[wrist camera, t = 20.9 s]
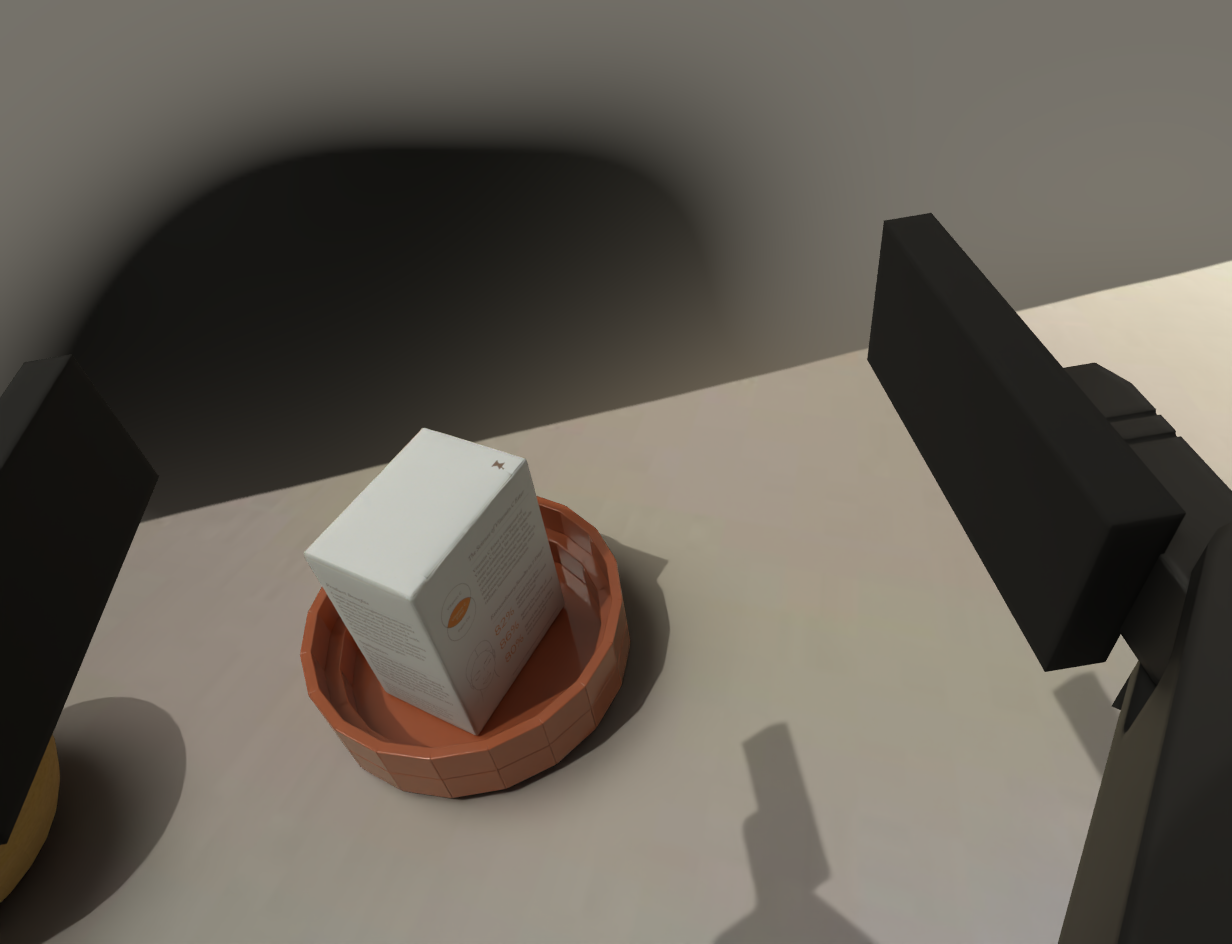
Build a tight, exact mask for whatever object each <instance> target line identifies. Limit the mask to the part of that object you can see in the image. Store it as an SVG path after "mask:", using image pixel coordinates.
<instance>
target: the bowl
mask: <svg viewBox="0 0 1232 944" xmlns="http://www.w3.org/2000/svg"><path fill="white" fill-rule="evenodd" d="M536 497H537V501H538V504H539V508H540V512H541V516H542V519H543V523H544V527H545V530H546V534H547V538H548V542H549V546H550V549H551V553H552V557H553V560H554V564H555V568H556V572H557V576H558V580H559V583H560V587H561V591H562V594H563V598H564V602H565V605H564V607H563V608H562V610H561V611H560V613H559V614H558V616H557V617H556V619H555V620H554V622H553V623H552V625H551V626H550V628H549V629H548V631H547V632H546V634H545V635H544V637H543V638H542V640H541V641H540V643H539V644H538V646H537V647H536V649H535V651H534V652H533V654H532V655H531V657H530V658H529V660H528V661H527V663H526V664H525V665H524V667H523V668H522V670H521V671H520V673H519V674H518V676H517V677H516V679H515V680H514V682H513V684H512V685H511V687H510V688H509V690H508V691H507V693H506V694H505V696H504V697H503V699H502V700H501V702H500V703H499V705H498V706H497V708H496V709H495V711H494V712H493V714H492V715H491V717H490V718H489V720H488V721H487V723H486V724H485V726H484V727H483V729H482V731H481V732H480V734H479V735H477V736H476V735H473V734H471V733H469V732H467V731H465V730H463V729H461V728H458V727H456V726H454V725H452V724H450V723H448V722H446V721H444V720H442V719H440V718H438V717H435V716H433V715H431V714H429V713H427V712H425V711H423V710H421V709H419V708H417V707H415V706H413V705H411V704H409V703H407V702H405V701H403V700H401V699H399V698H397V697H395V696H393V695H390V694H388V693H387V692H386V691H385V690H384V688H383V687H382V685H381V683H380V682H379V680H378V679H377V677H376V675H375V674H374V672H373V670H372V669H371V667H370V665H369V664H368V662H367V660H366V659H365V657H364V655H363V654H362V652H361V650H360V649H359V647H358V645H357V644H356V642H355V640H354V639H353V637H352V635H351V634H350V632H349V631H348V629H347V627H346V626H345V624H344V622H343V621H342V619H341V617H340V615H339V614H338V612H337V610H336V608H335V607H334V605H333V603H332V602H331V600H330V599H329V597H328V595H327V594H326V592H325V590H324V589H323V587H321V589H320V591H319V593H318V595H317V597H316V598H315V600H314V602H313V604H312V606H311V608H310V609H309V611H308V614H307V619H306V625H305V630H304V636H303V641H302V647H301V652H300V657H301V662H302V667H303V671H304V676H305V681H306V686H307V690H308V695H309V697H310V698H311V700H312V701H313V703H314V704H315V705H316V707H317V708H318V710H319V711H320V712H321V714H322V715H323V716H324V718H325V719H326V721H327V722H328V724H329V725H330V726H331V728H332V729H333V731H334V732H335V733H336V735H337V736H338V737H339V739H340V740H341V741H342V743H343V744H344V745H345V747H346V748H347V749H348V751H349V752H350V753H351V755H352V756H353V757H354V759H355V760H356V761H357V763H358V764H359V765H360V767H362V768H363V769H364V770H366V771H368V772H370V773H371V774H373V775H375V776H377V777H378V778H380V779H382V780H384V781H386V782H387V783H389V784H391V785H393V786H394V787H396V788H398V789H400V790H402V791H406V792H413V793H420V794H427V795H433V796H440V797H447V798H452V797H453V798H455V797H461V796H467V795H473V794H479V793H485V792H490V791H496V790H502V789H506V788H509V787H511V786H513V785H515V784H517V783H519V782H521V781H523V780H526V779H528V778H530V777H532V776H534V775H536V774H538V773H540V772H542V771H544V770H546V769H548V768H550V767H552V766H554V765H556V763H558V762H560V761H561V760H562V759H563V758H564V757H565V756H566V755H567V754H568V753H569V752H571V751H572V750H573V749H574V748H575V747H576V746H577V745H578V744H579V743H580V742H582V741H583V740H584V739H585V738H586V737H587V736H588V735H589V734H590V733H591V732H593V731H594V730H595V729H596V727H597V726H598V724H599V723H600V721H601V719H602V718H603V716H604V714H605V713H606V711H607V709H608V708H609V706H610V704H611V702H612V701H613V699H614V697H615V696H616V694H617V692H618V691H619V689H620V687H621V685H622V681H623V676H624V672H625V667H626V662H627V657H628V653H629V648H630V637H629V630H628V624H627V618H626V612H625V606H624V600H623V594H622V589H621V583H620V577H619V572H618V566H617V561H616V559H615V557H614V556H613V554H612V553H611V551H610V549H609V548H608V546H607V545H606V543H605V541H604V540H603V538H602V537H601V535H600V533H599V532H598V530H597V529H596V528H595V527H593V526H592V525H591V524H589V523H588V522H587V521H585V520H584V519H583V518H581V517H580V516H579V515H577V514H576V513H575V512H573V511H572V510H571V509H569V508H568V507H567V506H565V505H562V504H559V503H556V502H553V501H550V500H547V499H544V498H541V497H538V496H536Z"/></svg>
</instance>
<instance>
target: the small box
mask: <svg viewBox="0 0 1232 944" xmlns="http://www.w3.org/2000/svg"><path fill="white" fill-rule="evenodd" d="M304 557H305V559H306V561H307V562H308V564H309V566H310V567H311V569H312V571H313V572H314V574H315V575H316V577H317V579H318V581H319V582H320V584H321V585H322V587H323V589H324V590H325V592H326V594H327V595H328V597H329V599H330V600H331V602H332V603H333V605H334V607H335V608H336V610H337V612H338V614H339V615H340V617H341V619H342V621H343V622H344V624H345V626H346V627H347V629H348V631H349V632H350V634H351V635H352V637H353V639H354V640H355V642H356V644H357V645H358V647H359V649H360V650H361V652H362V654H363V655H364V657H365V659H366V660H367V662H368V664H369V665H370V667H371V669H372V670H373V672H374V674H375V675H376V677H377V679H378V680H379V682H380V683H381V685H382V687H383V688H384V690H385V691H386V692H387V693H388V694H390V695H393V696H395V697H397V698H399V699H401V700H403V701H405V702H407V703H409V704H411V705H413V706H415V707H417V708H419V709H421V710H423V711H425V712H427V713H429V714H431V715H433V716H435V717H438V718H440V719H442V720H444V721H446V722H448V723H450V724H452V725H454V726H456V727H458V728H461V729H463V730H465V731H467V732H469V733H471V734H473V735H476V736H477V735H479V734H480V732H481V731H482V729H483V727H484V726H485V724H486V723H487V721H488V720H489V718H490V717H491V715H492V714H493V712H494V711H495V709H496V708H497V706H498V705H499V703H500V702H501V700H502V699H503V697H504V696H505V694H506V693H507V691H508V690H509V688H510V687H511V685H512V684H513V682H514V680H515V679H516V677H517V676H518V674H519V673H520V671H521V670H522V668H523V667H524V665H525V664H526V663H527V661H528V660H529V658H530V657H531V655H532V654H533V652H534V651H535V649H536V647H537V646H538V644H539V643H540V641H541V640H542V638H543V637H544V635H545V634H546V632H547V631H548V629H549V628H550V626H551V625H552V623H553V622H554V620H555V619H556V617H557V616H558V614H559V613H560V611H561V610H562V608H563V607H564V605H565V602H564V598H563V594H562V591H561V587H560V583H559V580H558V576H557V572H556V568H555V564H554V560H553V557H552V553H551V549H550V546H549V542H548V538H547V534H546V530H545V527H544V523H543V519H542V516H541V512H540V508H539V504H538V501H537V497H536V493H535V489H534V485H533V482H532V478H531V474H530V471H529V467H528V463H527V460H526V459H525V458H521V457H518V456H515V455H512V454H509V453H506V452H503V451H499V450H496V449H493V448H490V447H486V446H483V445H480V444H476V443H473V442H470V441H466V440H463V439H460V438H457V437H453V436H450V435H447V434H444V433H440V432H436V431H433V430H429V429H426V428H422V429H421V430H420V431H419V432H418V434H417V435H416V436H415V437H414V438H413V439H412V440H411V441H410V442H409V443H408V444H407V445H406V446H405V447H404V448H403V449H402V450H401V451H400V453H398V454H397V456H396V457H395V458H394V459H393V460H392V461H391V462H390V463H389V464H388V465H387V466H386V467H385V468H384V469H383V470H382V471H381V472H380V473H379V474H378V476H377V477H376V478H375V479H374V480H373V481H372V482H371V483H370V484H369V485H368V486H367V487H366V488H365V489H364V490H363V491H362V492H361V493H360V494H359V495H358V496H357V498H356V499H355V500H354V501H353V502H352V503H351V504H350V505H349V506H348V507H347V508H346V509H345V510H344V511H343V512H342V513H341V514H340V515H339V516H338V517H337V518H336V519H335V520H334V521H333V522H332V523H331V524H330V526H329V527H328V528H327V529H326V530H325V531H324V532H323V533H322V534H321V535H320V536H319V537H318V538H317V539H316V540H315V541H314V542H313V543H312V544H311V545H310V546H309V547H308V548H307V549H306V550H305V551H304Z"/></svg>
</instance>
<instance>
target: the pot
mask: <svg viewBox="0 0 1232 944" xmlns="http://www.w3.org/2000/svg"><path fill="white" fill-rule="evenodd" d="M59 784H60V769H59V761H58V755H57V749H56V743H55V739H54V737H53V735H52V736H51V739H50V741H49V743H48V746H47V748H46V751H45V753H44V755H43V758H42V760H41V763H40V765H39V768H38V770H37V772H36V775H35V777H34V780H33V782H32V784H31V787H30V789H29V792H28V794H27V797H26V799H25V801H24V804H23V806H22V809H21V811H20V813H19V816H18V818H17V821H16V823H15V826H14V828H13V830H12V833H11V835H10V838H9V840H8V842H7V844H3V845H0V903H1V902H2V901H3V900H4V899H5V898H6V897H7V896H8V895H9V894H10V893H11V892H12V890H13V889H14V888H15V886H16V885H17V884H18V883H19V881H20V880H21V879H22V877H23V876H24V875H25V873H26V872H27V871H28V869H29V868H30V867H31V865H32V864H33V862H34V860H35V858H36V856H37V855H38V853H39V851H40V849H41V848H42V846H43V844H44V842H45V840H46V839H47V836H48V833H49V830H50V827H51V824H52V821H53V818H54V816H55V812H56V808H57V801H58V793H59Z"/></svg>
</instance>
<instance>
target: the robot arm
mask: <svg viewBox="0 0 1232 944" xmlns="http://www.w3.org/2000/svg"><path fill="white" fill-rule="evenodd" d="M867 360H868V362H869V364H870V365H871V367H872V369H873V371H874V372H875V374H876V376H877V378H878V379H879V381H880V383H881V385H882V386H883V388H884V390H885V392H886V393H887V395H888V397H889V399H890V400H891V402H892V404H893V406H894V407H895V409H896V411H897V413H898V414H899V416H900V418H901V420H902V421H903V423H904V425H905V427H906V429H907V430H908V432H909V434H910V436H911V437H912V439H913V441H914V443H915V444H916V446H917V448H918V450H919V451H920V453H921V455H922V457H923V458H924V460H925V462H926V464H927V465H928V467H929V469H930V471H931V472H932V474H933V476H934V478H935V479H936V481H937V483H938V485H939V486H940V488H941V490H942V492H943V494H944V495H945V497H946V499H947V501H948V502H949V504H950V506H951V508H952V509H953V511H954V513H955V515H956V516H957V518H958V520H959V522H960V523H961V525H962V527H963V529H964V530H965V532H966V534H967V536H968V537H969V539H970V541H971V543H972V544H973V546H974V548H975V550H976V552H977V553H978V555H979V557H980V559H981V560H982V562H983V564H984V566H985V567H986V569H987V571H988V573H989V574H990V576H991V578H992V580H993V581H994V583H995V585H996V587H997V588H998V590H999V592H1000V594H1001V595H1002V597H1003V599H1004V601H1005V602H1006V604H1007V606H1008V608H1009V609H1010V611H1011V613H1012V615H1013V617H1014V618H1015V620H1016V622H1017V624H1018V625H1019V627H1020V629H1021V631H1022V632H1023V634H1024V636H1025V638H1026V639H1027V641H1028V643H1029V645H1030V646H1031V648H1032V650H1033V652H1034V653H1035V655H1036V657H1037V659H1038V660H1039V662H1040V664H1041V666H1042V667H1043V669H1044V671H1045V672H1047V671H1053V670H1059V669H1065V668H1071V667H1077V666H1083V665H1090V664H1096V663H1102V662H1106V660H1107V658H1108V656H1109V654H1110V653H1111V651H1112V649H1113V647H1114V645H1115V643H1116V642H1117V640H1118V638H1119V636H1120V634H1121V635H1122V636H1123V638H1124V639H1125V641H1126V642H1127V644H1128V645H1129V647H1130V648H1131V650H1132V651H1133V653H1134V654H1135V656H1136V657H1137V659H1138V660H1139V661H1138V662H1137V664H1136V666H1135V667H1134V669H1133V671H1132V673H1131V674H1130V676H1129V678H1128V679H1127V681H1126V683H1125V684H1124V686H1123V688H1122V689H1121V691H1120V693H1119V694H1118V696H1117V698H1116V699H1115V701H1114V703H1113V705H1112V707H1115V708H1117V709H1119V710H1121V712H1120V715H1119V719H1118V723H1117V726H1116V730H1115V734H1114V738H1113V741H1112V745H1111V749H1110V752H1109V756H1108V760H1107V763H1106V767H1105V771H1104V775H1103V778H1102V782H1101V786H1100V789H1099V793H1098V797H1097V801H1096V804H1095V808H1094V812H1093V815H1092V819H1091V823H1090V826H1089V830H1088V834H1087V838H1086V841H1085V845H1084V849H1083V852H1082V856H1081V860H1080V864H1079V867H1078V871H1077V875H1076V878H1075V882H1074V886H1073V889H1072V893H1071V897H1070V901H1069V904H1068V908H1067V912H1066V915H1065V919H1064V923H1063V927H1062V930H1061V934H1060V938H1059V941H1058V944H1232V491H1231V490H1230V489H1229V488H1228V486H1227V485H1226V484H1225V483H1224V482H1223V481H1222V480H1221V479H1220V478H1219V477H1218V476H1217V475H1216V474H1215V473H1214V471H1213V470H1212V469H1211V468H1210V467H1209V466H1208V465H1207V464H1206V463H1205V462H1204V461H1203V460H1202V459H1201V457H1200V456H1199V455H1198V454H1197V453H1196V452H1195V451H1194V450H1193V449H1192V448H1191V447H1190V446H1189V445H1188V443H1187V442H1186V441H1185V440H1184V439H1183V438H1182V437H1181V436H1180V437H1177V436H1176V433H1175V432H1176V431H1175V429H1174V428H1173V427H1172V426H1171V425H1170V424H1169V423H1168V422H1167V421H1166V420H1165V419H1164V418H1163V417H1162V416H1161V415H1157V414H1156V409H1155V408H1154V407H1153V406H1152V405H1151V404H1150V403H1149V402H1148V400H1147V399H1146V398H1145V397H1144V396H1143V395H1142V394H1141V393H1140V392H1139V391H1138V390H1137V389H1136V388H1135V386H1134V385H1133V384H1132V383H1130V382H1128V381H1127V380H1125V379H1123V378H1121V377H1120V376H1118V375H1116V374H1114V373H1113V372H1111V371H1109V370H1107V369H1105V368H1104V367H1102V366H1100V365H1098V364H1097V363H1090V364H1084V365H1078V366H1072V367H1066V368H1063V367H1062V366H1061V365H1060V364H1059V363H1058V361H1057V360H1056V359H1055V358H1054V357H1053V355H1052V354H1051V353H1050V352H1049V351H1048V350H1047V348H1046V347H1045V346H1044V345H1043V344H1042V343H1041V341H1040V340H1039V339H1038V338H1037V337H1036V335H1035V334H1034V333H1033V332H1032V331H1031V330H1030V328H1029V327H1028V326H1027V325H1026V324H1025V323H1024V321H1023V320H1022V319H1021V318H1020V317H1019V315H1018V314H1017V313H1016V312H1015V311H1014V310H1013V308H1012V307H1011V306H1010V305H1009V304H1008V303H1007V301H1006V300H1005V299H1004V298H1003V297H1002V296H1001V294H1000V293H999V292H998V291H997V290H996V289H995V287H994V286H993V285H992V284H991V283H990V281H989V280H988V279H987V278H986V277H985V276H984V274H983V273H982V272H981V271H980V270H979V268H978V267H977V266H976V265H975V264H974V263H973V261H972V260H971V259H970V258H969V257H968V256H967V254H966V253H965V252H964V251H963V250H962V248H961V247H960V246H959V245H958V244H957V243H956V241H955V240H954V239H953V238H952V237H951V236H950V234H949V233H948V232H947V231H946V230H945V228H944V227H943V226H942V225H941V224H940V223H939V221H938V220H937V219H936V218H935V217H934V216H933V214H932V213H928V214H922V215H917V216H910V217H904V218H898V219H892V220H886V221H884V225H883V234H882V242H881V250H880V259H879V267H878V275H877V283H876V292H875V301H874V309H873V317H872V325H871V333H870V342H869V350H868V358H867ZM158 477H159V476H158V475H157V473H156V472H155V471H154V469H153V468H152V466H151V465H150V464H149V462H148V461H147V459H146V458H145V456H144V455H143V454H142V452H141V451H140V449H138V447H137V445H136V444H135V442H134V441H133V440H132V439H131V437H130V435H129V434H128V433H127V431H126V430H125V428H124V427H123V426H122V424H121V423H120V421H119V420H118V419H117V417H116V416H115V415H114V413H113V412H112V410H111V409H110V407H109V406H108V405H107V403H106V402H105V400H104V399H103V398H102V396H101V395H100V393H99V392H98V390H97V389H96V388H95V386H94V385H93V383H92V382H91V381H90V379H89V378H88V376H87V375H86V374H85V372H84V371H83V369H82V368H81V367H80V365H79V364H78V363H77V361H76V360H75V358H74V357H73V355H66V356H60V357H54V358H48V359H42V360H36V361H30V362H25V363H24V364H23V365H22V367H21V368H20V370H19V371H18V372H17V374H16V375H15V377H14V378H13V380H12V381H11V383H10V384H9V386H8V387H7V389H6V390H5V392H4V393H3V394H2V396H1V397H0V845H3V844H7V842H8V840H9V838H10V835H11V833H12V830H13V828H14V826H15V823H16V821H17V818H18V816H19V813H20V811H21V809H22V806H23V804H24V801H25V799H26V797H27V794H28V792H29V789H30V787H31V784H32V782H33V780H34V777H35V775H36V772H37V770H38V768H39V765H40V763H41V760H42V758H43V755H44V753H45V751H46V748H47V746H48V743H49V741H50V739H51V736H52V734H53V731H54V729H55V726H56V724H57V722H58V719H59V717H60V714H61V712H62V710H63V707H64V705H65V702H66V700H67V697H68V695H69V693H70V690H71V688H72V685H73V683H74V681H75V678H76V676H77V673H78V671H79V668H80V666H81V664H82V661H83V659H84V656H85V654H86V652H87V649H88V647H89V644H90V642H91V639H92V637H93V635H94V632H95V630H96V627H97V625H98V623H99V620H100V618H101V615H102V613H103V610H104V608H105V606H106V603H107V601H108V598H109V596H110V594H111V591H112V589H113V586H114V584H115V581H116V579H117V577H118V574H119V572H120V569H121V567H122V564H123V562H124V560H125V557H126V555H127V552H128V550H129V548H130V545H131V543H132V540H133V538H134V535H135V533H136V531H137V528H138V526H139V523H140V521H141V519H142V516H143V514H144V511H145V509H146V506H147V504H148V502H149V499H150V497H151V494H152V492H153V490H154V487H155V485H156V482H157V480H158Z"/></svg>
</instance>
